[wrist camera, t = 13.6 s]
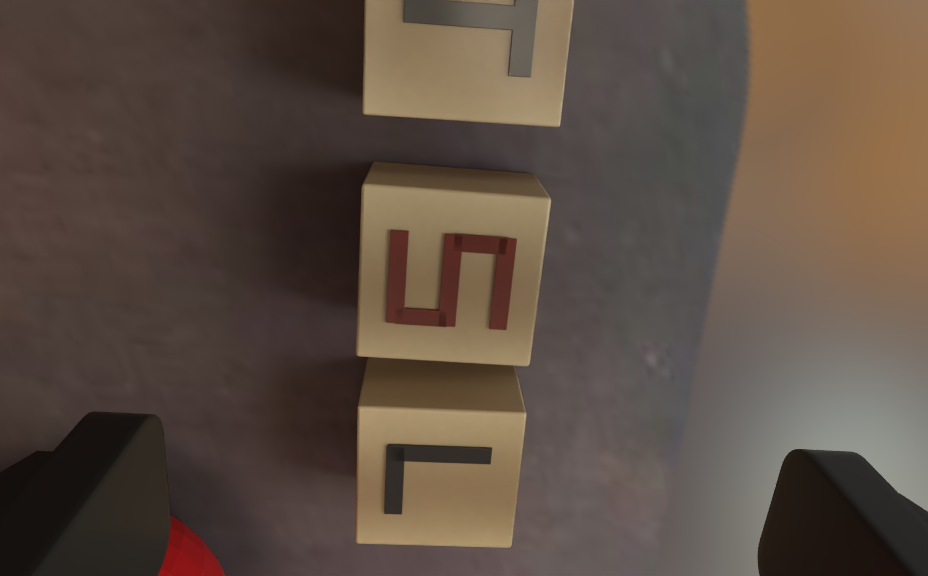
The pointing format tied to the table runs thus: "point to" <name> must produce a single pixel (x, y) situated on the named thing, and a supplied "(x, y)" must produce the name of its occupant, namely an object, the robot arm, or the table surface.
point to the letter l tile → (438, 453)
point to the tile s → (450, 263)
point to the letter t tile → (467, 59)
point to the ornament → (188, 554)
